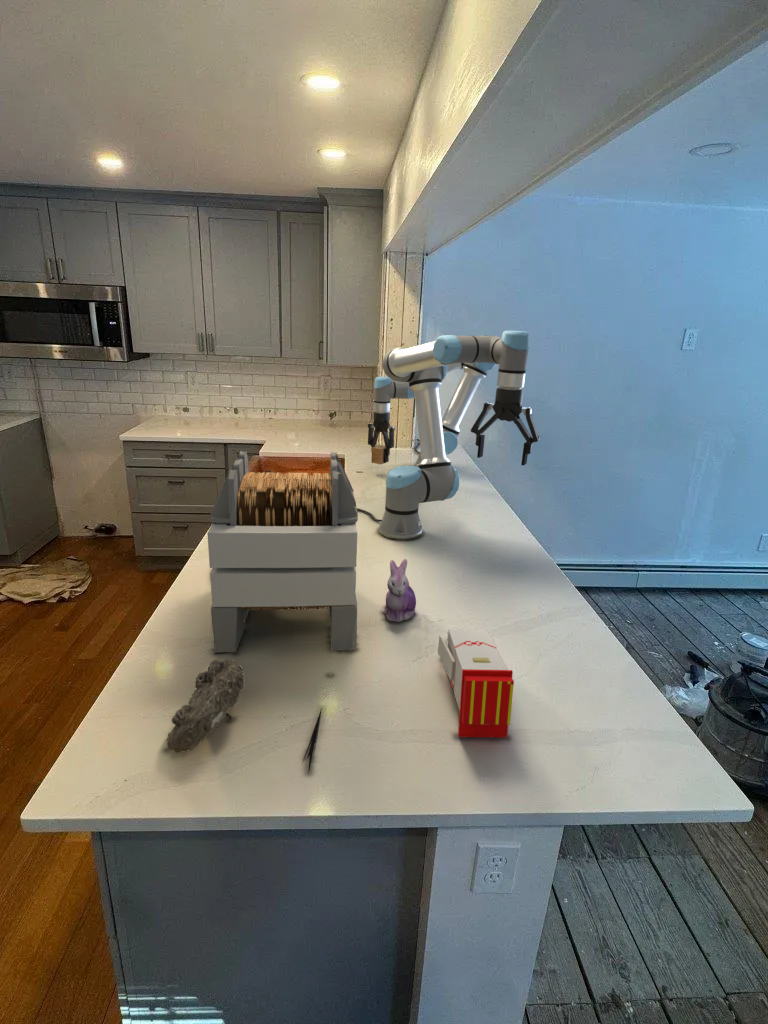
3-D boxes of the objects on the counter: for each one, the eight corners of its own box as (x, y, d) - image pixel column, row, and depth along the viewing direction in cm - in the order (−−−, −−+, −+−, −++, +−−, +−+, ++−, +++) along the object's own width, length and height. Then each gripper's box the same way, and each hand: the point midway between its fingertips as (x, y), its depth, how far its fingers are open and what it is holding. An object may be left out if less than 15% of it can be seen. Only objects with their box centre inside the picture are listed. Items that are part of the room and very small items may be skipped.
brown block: (381, 464, 262) (381, 449, 260) (371, 462, 265) (371, 447, 262) (388, 461, 268) (389, 446, 265) (379, 459, 270) (379, 444, 268)
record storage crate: (232, 584, 158) (225, 442, 144) (349, 583, 162) (353, 444, 148) (211, 655, 127) (198, 480, 113) (357, 651, 130) (362, 482, 117)
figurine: (392, 627, 141) (395, 572, 136) (374, 608, 149) (376, 556, 144) (425, 619, 145) (429, 566, 140) (405, 601, 154) (408, 550, 149)
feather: (331, 679, 122) (336, 673, 122) (307, 777, 96) (313, 769, 95) (324, 675, 122) (329, 669, 121) (298, 772, 95) (304, 764, 95)
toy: (488, 613, 130) (523, 677, 101) (484, 667, 133) (517, 744, 104) (435, 612, 130) (455, 676, 101) (432, 666, 133) (451, 743, 103)
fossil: (192, 660, 117) (244, 628, 112) (224, 691, 120) (276, 661, 115) (142, 746, 98) (202, 712, 93) (182, 779, 101) (242, 748, 96)
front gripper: (557, 391, 158) (546, 465, 165) (473, 382, 169) (467, 451, 177) (550, 394, 152) (539, 470, 159) (464, 384, 163) (457, 456, 171)
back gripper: (403, 413, 257) (401, 462, 265) (369, 408, 266) (368, 456, 273) (395, 415, 251) (393, 466, 259) (360, 410, 259) (359, 459, 267)
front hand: (501, 460), depth 168 cm, fingers open, 13 cm apart
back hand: (380, 461), depth 266 cm, fingers closed on brown block, 5 cm apart
